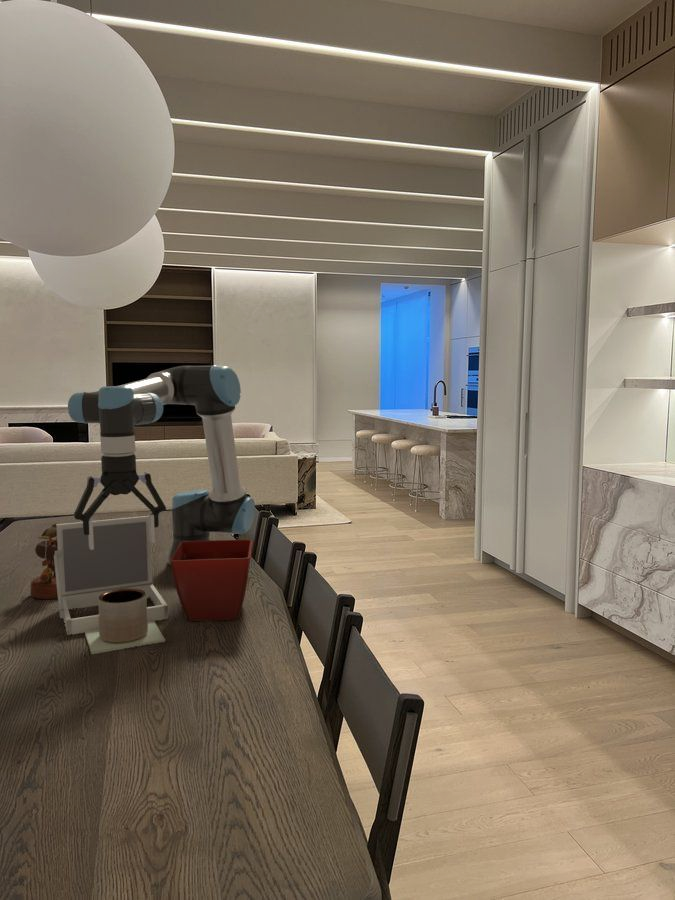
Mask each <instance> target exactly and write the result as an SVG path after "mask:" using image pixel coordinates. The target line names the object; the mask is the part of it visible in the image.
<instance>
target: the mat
mask: <svg viewBox="0 0 675 900" xmlns="http://www.w3.org/2000/svg"><path fill="white" fill-rule="evenodd" d="M84 635H85V638H86V641H87V645H88V647H89V651H90V653H91V655H97V654H101V653H108V652H115V651H118V650H125V648H126V649H129V648H130V647H131V648H136V647H135V646H137V647H141V646H142V645H143V646H147V644H148V645H154V644H158V643H165V642H166V638H165V637H164V635H163V634H162V632H161V631H160V629H159V627H158V626H157V623H156V621H154V620H153V621H148V632H147V633H146V634H145V635H144V636H143V637H141V638H140V639H138V640H135V641H131V642H126V643H110V642H106V641H104V640H102V639H101V638H100V635H99V629H97V630H91V631H85V632H84ZM153 643H154V644H153ZM143 646H142V647H143Z"/></svg>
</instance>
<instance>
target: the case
mask: <svg viewBox="0 0 675 900" xmlns="http://www.w3.org/2000/svg"><path fill="white" fill-rule="evenodd" d="M92 521H93V540H94V550H90V548H89V537H88V535H85V534H84V532H83V521H80V522H79V521H78V522H68V523H67V522H66V523H57V524H56V526H57V536H56V538H57V546H58V551H55V555H54V563H55V573H56V583H57V593H58V598H57V601H58V602H57V603H58V611H59V618H60V619H62V620H63V619H64V620H63V622H64V623H65V624H64V627H66V628H65V631H66V634H67V636H70V635H71V634H72V635H77V634H82V633H83V634H85V631H91V630H97V629H99V614H95V615H94V614H93V615H88V616H82V617H80V616H79V617H75V618H74V617H73V618H71V614H70V611H69V610H68V609H71V610H75V608H78V609H83V608H91V607H96V606H98V597H99V596H100V595H101V594H103V593H105V592H108V591H112V590H117V589H126V588H133V589H140V590H143V591H145V592H146V597H147V599H150V598H151V599H150V601H153V602H152V604H153V606H147V618H148V621H153V620H154V622H157V621H156V620H158V621H163V619H164V620H168V619H169V609H168V608H169V607H168V604H167V602H166V601H165V600H164V598H163V596H162V595H161V593H159V591H158V590H157V588H156V586H154V583H153V563H152V562H153V560H152V559H153V558H152V557H153V556H152V542H151V541H150V540H149V517H148V515H143V516H142V515H141V516H131V517H121V518H111V519H110V518H109V519H100V520H92ZM149 597H150V598H149ZM72 608H74V609H72Z"/></svg>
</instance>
